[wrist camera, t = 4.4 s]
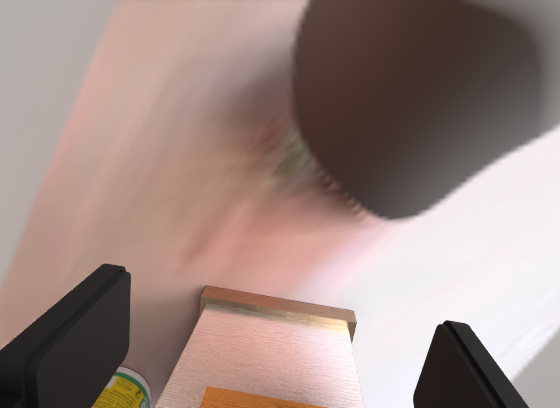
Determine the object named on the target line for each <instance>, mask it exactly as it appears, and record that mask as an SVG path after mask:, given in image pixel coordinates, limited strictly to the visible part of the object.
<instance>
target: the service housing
mask: <svg viewBox="0 0 560 408" xmlns="http://www.w3.org/2000/svg"><path fill="white" fill-rule="evenodd" d="M356 324H357V322H356V318H355V314H354V311H350V310H345V309H339V308H333V307H327V306H321V305H316V304H310V303H304V302H298V301H292V300H287V299H281V298H275V297H269V296H263V295H258V294H252V293H246V292H240V291H234V290H229V289H223V288H217V287H211V286H206V287H205V289H204V291H203V293H202V295H201V299H200V308H199V317H198V323H197V325H196V327H195V329H194V331H193V333H192V335H191V337H190V339H189V341H188V343H187V345H186V347H185V349H184V351H183V353H182V355H181V357H180V359H179V361H178V363H177V365H176V367H175V369H174V371H173V373H172V375H171V376H170V378H169V380H168V382H167V384H166V386H165V388H164V390H163V392H162V394H161V396H160V398H159V400H158V402H157V404H156V406H155V408H365V407H364V402H363V397H362V392H361V387H360V383H359V378H358V373H357V368H356V363H355V359H354V354H353V349H352V340H353V336H354V332H355V328H356Z"/></svg>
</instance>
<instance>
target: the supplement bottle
mask: <svg viewBox="0 0 560 408" xmlns="http://www.w3.org/2000/svg"><path fill="white" fill-rule="evenodd" d="M151 402H152V397H151V391H150V388H149V385H148V384H147V382H146V381H145V379H144V378H143V377H142V376H141V375H139V374H138V373H136V372H135V371H133V370H131V369H128V368H124V367H119V368H118V369H117V371H116V372H115V374H114V375H113V377H112V378H111V380H110V381H109V383H108V384H107V386H106V387H105V388H104V390H103V391H102V393H101V394H100V396H99V397H98V399H97V400H96V402H95V403H94V405H93V406H92V408H150V407H151Z"/></svg>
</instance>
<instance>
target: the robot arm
mask: <svg viewBox="0 0 560 408" xmlns="http://www.w3.org/2000/svg"><path fill="white" fill-rule="evenodd" d="M130 287H131V275H130V273H129V272H126V270H125V267H123V266H117V265H111V264H103V265H101V266H100V267H99V268H98V269H96V270H95V271H94V272H93V273H92V274H91V275H89V276H88V277H87V278H86V279H85V280H83V281H82V282H81V283H80V284H79V285H77V286H76V287H75V288H74V289H73V290H72V291H70V292H69V293H68V294H67V295H66V296H64V297H63V298H62V299H61V300H60V301H58V302H57V303H56V304H55V305H54V306H53V307H51V308H50V309H49V310H48V311H47V312H45V313H44V314H43V315H42V316H41V317H39V318H38V319H37V320H36V321H35V322H34V323H32V324H31V325H30V326H29V327H28V328H26V329H25V330H24V331H23V332H22V333H20V334H19V335H18V336H17V337H16V338H14V339H13V340H12V341H11V342H10V343H9V344H7V345H6V346H5V347H4V348H3V349H1V350H0V408H92V406H93V405H94V403H95V402H96V400H97V399H98V397H99V396H100V394H101V393H102V391H103V390H104V388H105V387H106V386H107V384H108V383H109V381H110V380H111V378H112V377H113V375H114V374H115V372H116V371H117V369H118V368H119V366H120V365H121V363H122V362H123V360H124V359H125V357H126V355H127V352H128V348H129V326H130ZM413 403H414V408H529V407H528V406H527V404H526V403H525V402H524V400H523V399H522V397H521V396H520V395H519V393H518V392H517V391H516V389H515V388H514V386H513V385H512V384H511V382H510V381H509V380H508V378H507V377H506V376H505V374H504V373H503V371H502V370H501V369H500V367H499V366H498V365H497V363H496V362H495V361H494V359H493V358H492V356H491V355H490V354H489V352H488V351H487V350H486V348H485V347H484V346H483V344H482V343H481V341H480V340H479V339H478V337H477V336H476V335H475V333H474V332H473V331H472V329H471V328H470V326H469V325H468V324H465V323H460V322H454V321H448V320H447V321H445V322H444V323H443V324H439V325H438V326H437V328H436V330H435V333H434V336H433V339H432V342H431V345H430V348H429V351H428V354H427V357H426V360H425V363H424V366H423V368H422V371H421V374H420V377H419V380H418V383H417V386H416V389H415V392H414V396H413Z"/></svg>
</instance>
